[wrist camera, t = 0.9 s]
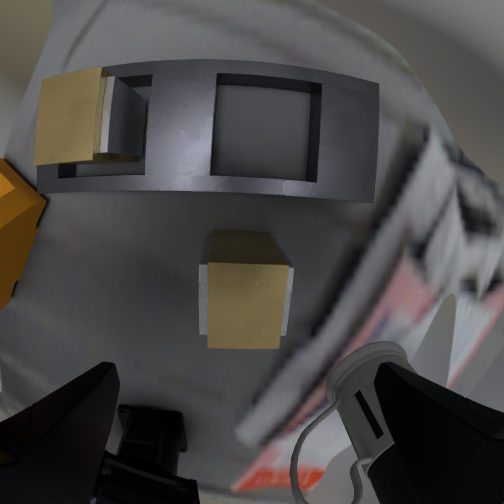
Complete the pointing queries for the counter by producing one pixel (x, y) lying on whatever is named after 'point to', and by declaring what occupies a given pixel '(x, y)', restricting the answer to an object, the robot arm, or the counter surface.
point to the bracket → (15, 227)
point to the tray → (203, 129)
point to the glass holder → (364, 425)
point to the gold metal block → (244, 290)
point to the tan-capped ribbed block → (88, 120)
